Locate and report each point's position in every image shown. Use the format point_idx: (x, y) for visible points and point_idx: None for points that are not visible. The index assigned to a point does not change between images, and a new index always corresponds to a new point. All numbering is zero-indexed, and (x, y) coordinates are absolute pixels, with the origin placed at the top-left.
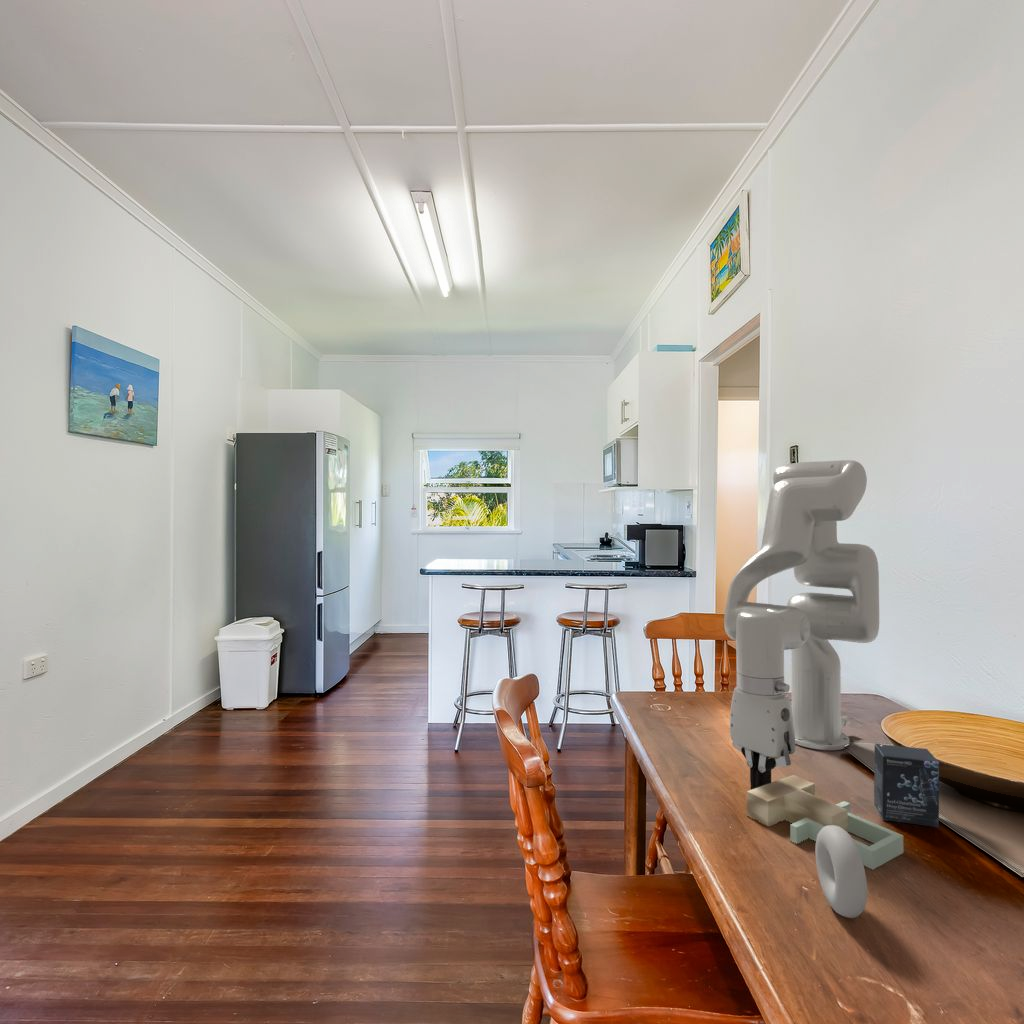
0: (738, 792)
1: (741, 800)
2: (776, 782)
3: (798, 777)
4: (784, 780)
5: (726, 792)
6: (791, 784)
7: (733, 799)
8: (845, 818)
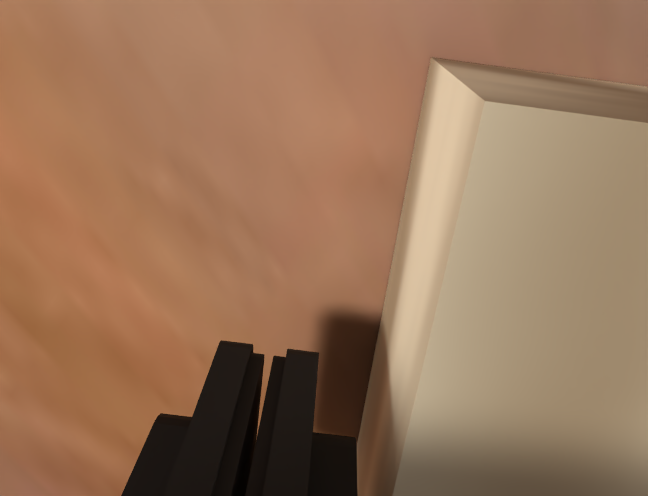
0: (57, 338)
1: None
2: (425, 491)
3: (595, 139)
4: (474, 383)
5: (11, 403)
6: (593, 421)
7: (124, 455)
8: None
